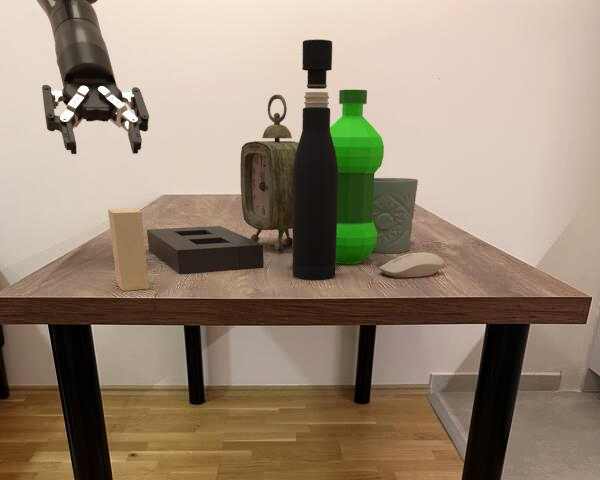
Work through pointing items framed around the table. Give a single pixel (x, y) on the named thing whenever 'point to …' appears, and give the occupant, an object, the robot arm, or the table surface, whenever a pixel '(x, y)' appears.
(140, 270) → the tan wooden block
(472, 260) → the table surface
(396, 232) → the drinking glass
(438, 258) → the computer mouse
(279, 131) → the tabletop clock
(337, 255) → the plastic bottle
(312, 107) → the black insulated flask
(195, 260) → the base
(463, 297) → the table surface
